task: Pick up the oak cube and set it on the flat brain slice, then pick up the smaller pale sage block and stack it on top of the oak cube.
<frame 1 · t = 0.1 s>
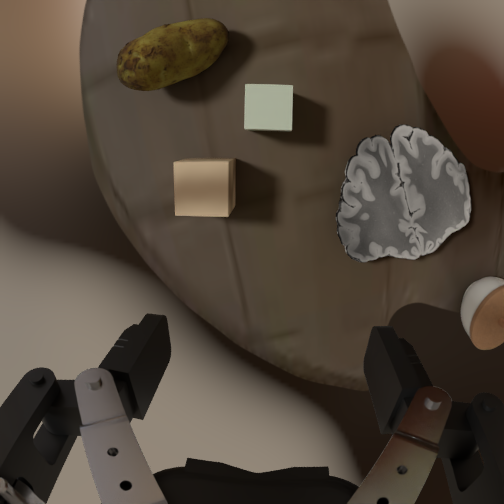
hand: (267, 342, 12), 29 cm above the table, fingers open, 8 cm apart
potato: (183, 61, 34), on the table
brain slice: (397, 191, 38), on the table
sage block: (269, 110, 35), on the table
oak block: (211, 181, 39), on the table
lidded jar: (475, 296, 41), on the table
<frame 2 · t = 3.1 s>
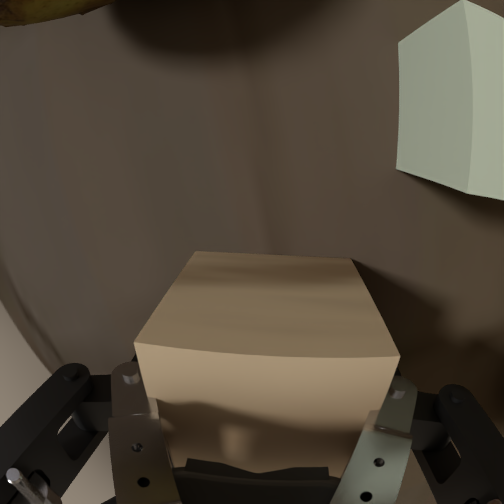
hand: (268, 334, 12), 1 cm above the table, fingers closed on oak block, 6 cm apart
sage block: (453, 116, 9), on the table
oak block: (269, 321, 13), on the table, touching gripper
when the fingers open (5 cm above the table, at t = 8.7 s): oak block drops 2 cm, resting on brain slice.
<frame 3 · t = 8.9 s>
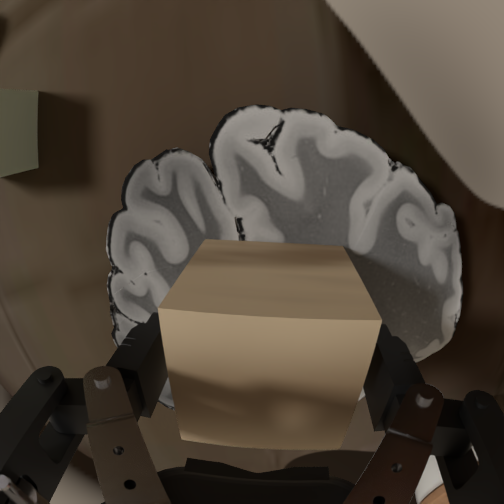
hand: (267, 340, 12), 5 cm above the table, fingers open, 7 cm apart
brain slice: (271, 275, 18), on the table, touching oak block
sage block: (14, 134, 15), on the table
oak block: (270, 303, 15), point 2 cm above the table, touching brain slice
lidded jar: (453, 427, 21), on the table
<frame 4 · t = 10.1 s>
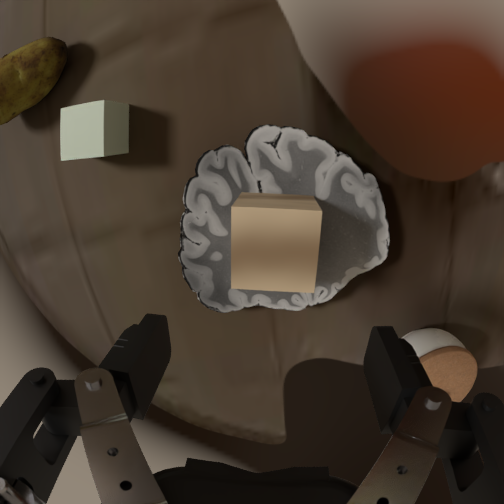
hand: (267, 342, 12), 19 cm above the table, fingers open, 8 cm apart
potato: (36, 85, 26), on the table
brain slice: (275, 218, 30), on the table, touching oak block
sage block: (108, 130, 28), on the table
oak block: (275, 228, 27), point 3 cm above the table, touching brain slice
lidded jar: (413, 348, 34), on the table
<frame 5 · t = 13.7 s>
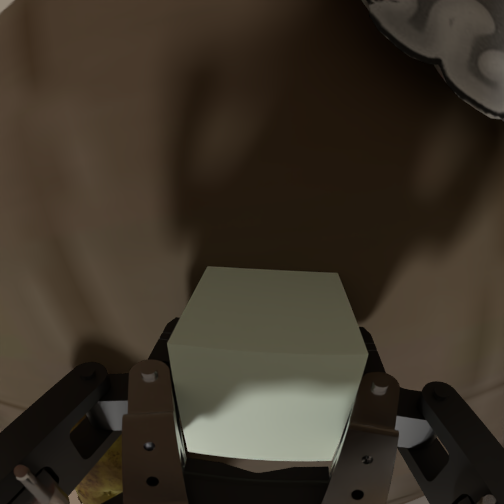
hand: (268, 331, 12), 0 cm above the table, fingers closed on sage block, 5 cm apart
potato: (151, 444, 17), on the table
sage block: (269, 325, 13), on the table, touching gripper
when the fingers open (11 cm above the table, at t = 18.9 s): sage block drops 2 cm, resting on oak block.
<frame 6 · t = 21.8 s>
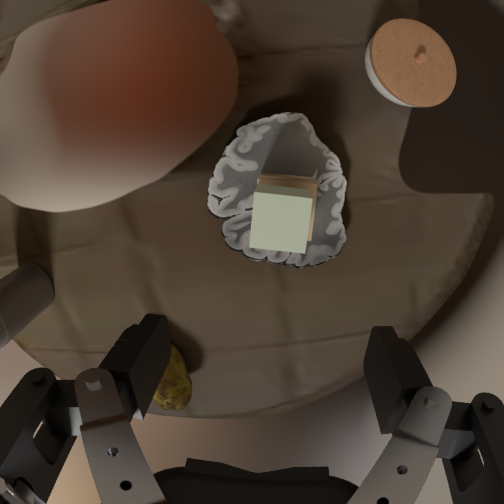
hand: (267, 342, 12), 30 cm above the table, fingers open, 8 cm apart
potato: (171, 358, 51), on the table
brain slice: (278, 194, 40), on the table, touching oak block
sage block: (280, 210, 32), point 8 cm above the table, touching oak block
oak block: (284, 199, 37), point 2 cm above the table, touching brain slice, sage block
lidded jar: (393, 72, 33), on the table
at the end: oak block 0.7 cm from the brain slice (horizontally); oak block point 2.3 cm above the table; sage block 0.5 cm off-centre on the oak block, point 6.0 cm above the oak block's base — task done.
